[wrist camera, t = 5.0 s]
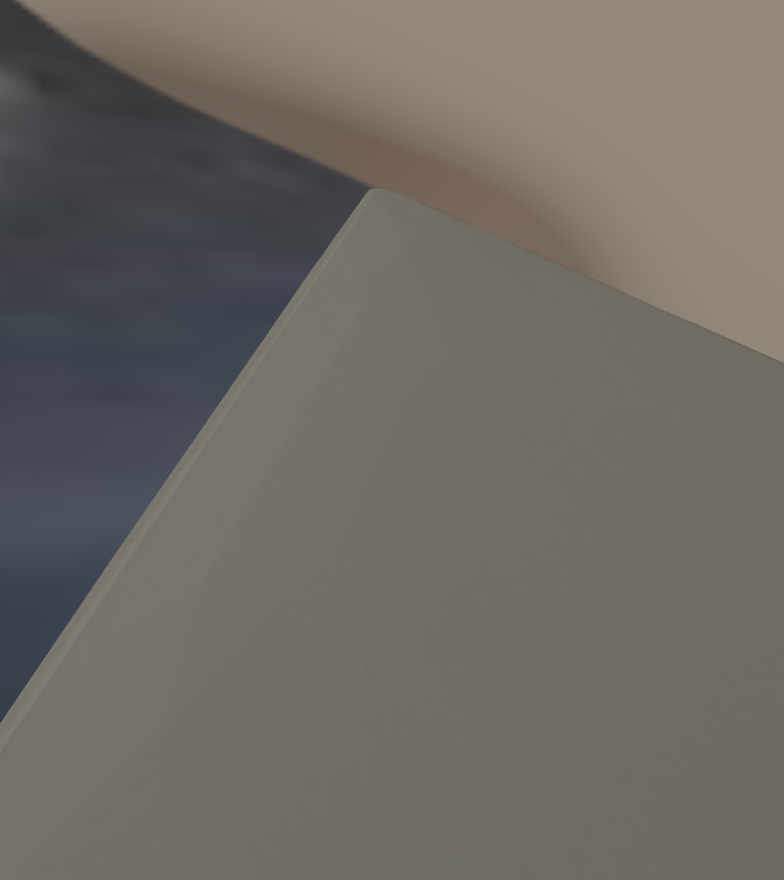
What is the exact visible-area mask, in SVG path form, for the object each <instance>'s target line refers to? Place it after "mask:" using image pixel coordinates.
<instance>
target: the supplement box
mask: <svg viewBox="0 0 784 880" xmlns="http://www.w3.org/2000/svg"><path fill="white" fill-rule="evenodd" d="M0 880H784V363H782V362H780V361H778V360H776V359H773V358H771V357H769V356H767V355H764V354H762V353H760V352H757V351H755V350H753V349H751V348H748V347H746V346H744V345H742V344H739V343H737V342H735V341H733V340H730V339H728V338H726V337H724V336H721V335H719V334H717V333H714V332H712V331H710V330H708V329H706V328H703V327H701V326H699V325H697V324H694V323H692V322H690V321H688V320H685V319H682V318H680V317H678V316H675V315H673V314H671V313H668V312H666V311H664V310H661V309H659V308H657V307H654V306H652V305H650V304H648V303H646V302H644V301H641V300H639V299H637V298H635V297H632V296H630V295H628V294H626V293H624V292H622V291H619V290H617V289H615V288H613V287H611V286H608V285H606V284H604V283H602V282H599V281H597V280H595V279H593V278H590V277H588V276H586V275H584V274H582V273H579V272H577V271H575V270H573V269H570V268H568V267H566V266H563V265H561V264H559V263H557V262H555V261H552V260H550V259H548V258H546V257H543V256H541V255H539V254H536V253H534V252H532V251H530V250H527V249H525V248H523V247H520V246H518V245H516V244H513V243H511V242H509V241H507V240H504V239H502V238H501V237H499V236H497V235H495V234H492V233H490V232H487V231H484V230H482V229H480V228H478V227H476V226H474V225H472V224H470V223H468V222H466V221H464V220H462V219H459V218H457V217H454V216H452V215H450V214H447V213H445V212H443V211H440V210H438V209H435V208H433V207H431V206H428V205H426V204H423V203H421V202H418V201H416V200H413V199H411V198H408V197H405V196H403V195H400V194H397V193H395V192H392V191H389V190H386V189H384V188H378V189H370V190H369V191H368V192H367V194H366V195H365V196H364V197H363V199H362V200H361V202H360V203H359V204H358V206H357V207H356V209H355V210H354V211H353V213H352V214H351V216H350V217H349V218H348V220H347V221H346V223H345V224H344V225H343V227H342V228H341V230H340V231H339V232H338V234H337V235H336V237H335V238H334V239H333V241H332V242H331V244H330V245H329V246H328V248H327V249H326V251H325V252H324V254H323V255H322V257H321V258H320V259H319V261H318V262H317V263H316V264H315V266H314V267H313V268H312V270H311V271H310V273H309V274H308V276H307V277H306V279H305V280H304V282H303V283H302V284H301V286H300V287H299V289H298V290H297V292H296V293H295V295H294V296H293V298H292V299H291V301H290V302H289V303H288V305H287V306H286V308H285V309H284V311H283V312H282V314H281V315H280V317H279V318H278V319H277V321H276V322H275V324H274V325H273V327H272V328H271V330H270V331H269V333H268V334H267V335H266V337H265V338H264V340H263V341H262V343H261V344H260V346H259V347H258V348H257V350H256V351H255V353H254V354H253V356H252V357H251V359H250V360H249V361H248V363H247V364H246V366H245V367H244V369H243V370H242V372H241V373H240V374H239V376H238V377H237V379H236V380H235V382H234V383H233V385H232V386H231V387H230V389H229V390H228V392H227V393H226V395H225V396H224V398H223V399H222V401H221V402H220V403H219V405H218V406H217V408H216V409H215V411H214V412H213V414H212V415H211V416H210V418H209V419H208V421H207V422H206V424H205V425H204V427H203V428H202V429H201V431H200V432H199V434H198V435H197V437H196V438H195V440H194V441H193V442H192V444H191V445H190V447H189V448H188V450H187V451H186V453H185V454H184V455H183V457H182V458H181V460H180V461H179V463H178V464H177V466H176V467H175V469H174V470H173V471H172V473H171V474H170V476H169V477H168V479H167V480H166V482H165V483H164V484H163V486H162V487H161V489H160V490H159V492H158V493H157V495H156V496H155V497H154V499H153V500H152V502H151V503H150V505H149V506H148V508H147V509H146V510H145V512H144V513H143V515H142V516H141V518H140V519H139V521H138V522H137V523H136V525H135V526H134V528H133V529H132V531H131V532H130V534H129V535H128V537H127V538H126V539H125V541H124V542H123V544H122V545H121V547H120V548H119V550H118V551H117V552H116V554H115V555H114V557H113V558H112V560H111V561H110V563H109V564H108V566H107V567H106V569H105V570H104V571H103V573H102V574H101V576H100V577H99V579H98V580H97V582H96V583H95V585H94V586H93V588H92V589H91V591H90V592H89V594H88V595H87V597H86V598H85V599H84V601H83V602H82V604H81V605H80V607H79V608H78V610H77V611H76V613H75V614H74V616H73V617H72V619H71V620H70V622H69V623H68V625H67V626H66V627H65V629H64V630H63V632H62V633H61V635H60V636H59V638H58V639H57V641H56V642H55V644H54V645H53V647H52V648H51V650H50V651H49V653H48V654H47V655H46V657H45V658H44V660H43V661H42V663H41V664H40V666H39V667H38V669H37V670H36V672H35V673H34V675H33V676H32V678H31V679H30V681H29V682H28V683H27V685H26V686H25V688H24V689H23V691H22V692H21V694H20V695H19V697H18V698H17V700H16V701H15V703H14V704H13V706H12V707H11V709H10V710H9V711H8V713H7V714H6V716H5V717H4V719H3V720H2V722H1V723H0Z"/></svg>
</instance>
